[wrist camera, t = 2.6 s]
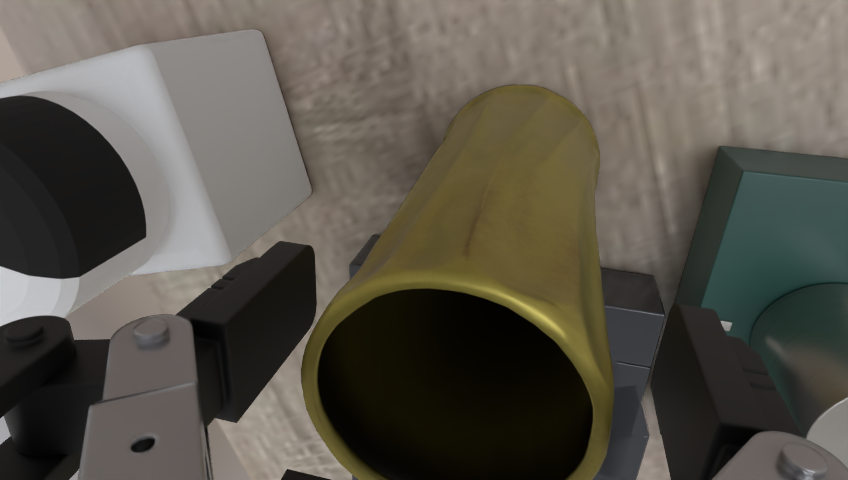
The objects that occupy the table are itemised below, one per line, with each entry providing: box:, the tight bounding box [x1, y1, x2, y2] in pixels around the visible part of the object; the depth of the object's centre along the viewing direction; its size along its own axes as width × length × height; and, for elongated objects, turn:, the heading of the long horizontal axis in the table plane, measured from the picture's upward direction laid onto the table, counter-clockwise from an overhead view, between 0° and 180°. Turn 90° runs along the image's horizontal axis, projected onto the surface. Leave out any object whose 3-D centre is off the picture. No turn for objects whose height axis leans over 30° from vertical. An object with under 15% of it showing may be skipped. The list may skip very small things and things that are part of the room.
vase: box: [301, 85, 614, 480], centre depth 15 cm, size 6×6×14 cm
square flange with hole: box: [349, 235, 665, 480], centre depth 25 cm, size 14×13×3 cm
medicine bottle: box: [0, 29, 312, 326], centre depth 19 cm, size 7×7×12 cm
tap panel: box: [651, 146, 848, 434], centre depth 20 cm, size 11×9×3 cm
